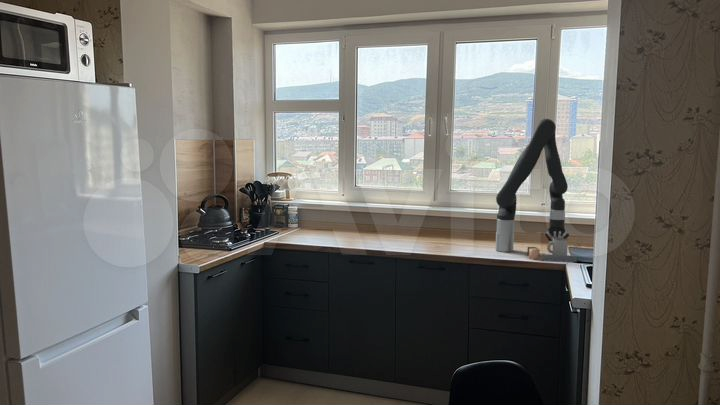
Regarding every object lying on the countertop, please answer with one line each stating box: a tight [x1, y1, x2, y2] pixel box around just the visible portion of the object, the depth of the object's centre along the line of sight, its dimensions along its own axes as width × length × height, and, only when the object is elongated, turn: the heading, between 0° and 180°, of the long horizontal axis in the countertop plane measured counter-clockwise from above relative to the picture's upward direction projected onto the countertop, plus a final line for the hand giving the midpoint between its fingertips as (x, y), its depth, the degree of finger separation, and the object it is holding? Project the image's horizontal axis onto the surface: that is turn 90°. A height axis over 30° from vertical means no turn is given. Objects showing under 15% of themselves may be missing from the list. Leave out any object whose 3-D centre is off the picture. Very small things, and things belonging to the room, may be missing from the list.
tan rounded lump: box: [528, 247, 541, 261], centre depth 269 cm, size 5×5×5 cm
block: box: [527, 246, 539, 256], centre depth 277 cm, size 4×4×4 cm
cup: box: [546, 237, 569, 255], centre depth 274 cm, size 7×10×9 cm
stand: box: [541, 252, 578, 263], centre depth 265 cm, size 16×4×3 cm, turn 80°
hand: (555, 250), depth 279 cm, fingers closed
